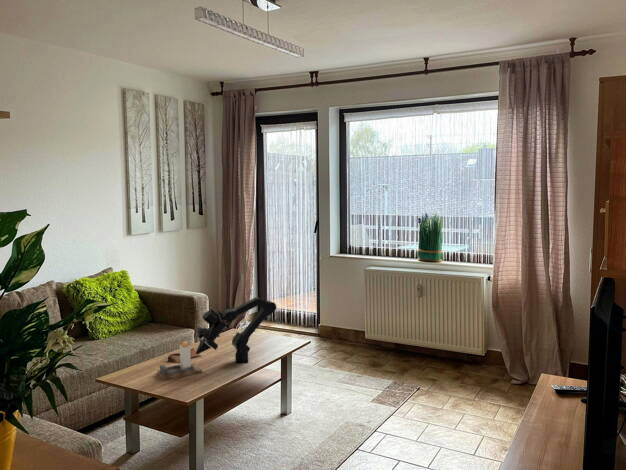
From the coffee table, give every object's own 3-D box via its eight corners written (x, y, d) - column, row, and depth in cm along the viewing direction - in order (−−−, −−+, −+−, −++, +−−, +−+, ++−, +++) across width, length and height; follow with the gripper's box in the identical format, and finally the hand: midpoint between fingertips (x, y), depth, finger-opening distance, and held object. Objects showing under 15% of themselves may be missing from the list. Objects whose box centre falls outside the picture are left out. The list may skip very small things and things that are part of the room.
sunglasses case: (176, 363, 294) (172, 352, 296) (170, 368, 298) (166, 356, 300) (203, 355, 308) (199, 344, 310) (196, 359, 312) (192, 349, 314)
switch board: (195, 366, 290) (194, 358, 290) (202, 372, 280) (202, 364, 280) (157, 372, 280) (157, 364, 280) (163, 379, 270) (163, 371, 270)
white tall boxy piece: (187, 366, 285) (187, 339, 283) (190, 369, 280) (190, 342, 279) (180, 368, 283) (179, 341, 281) (183, 370, 278) (182, 343, 277)
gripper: (199, 317, 293) (180, 340, 289) (211, 325, 277) (191, 349, 273) (213, 329, 298) (194, 352, 293) (226, 337, 282) (206, 361, 277)
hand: (196, 353), depth 284 cm, fingers closed
